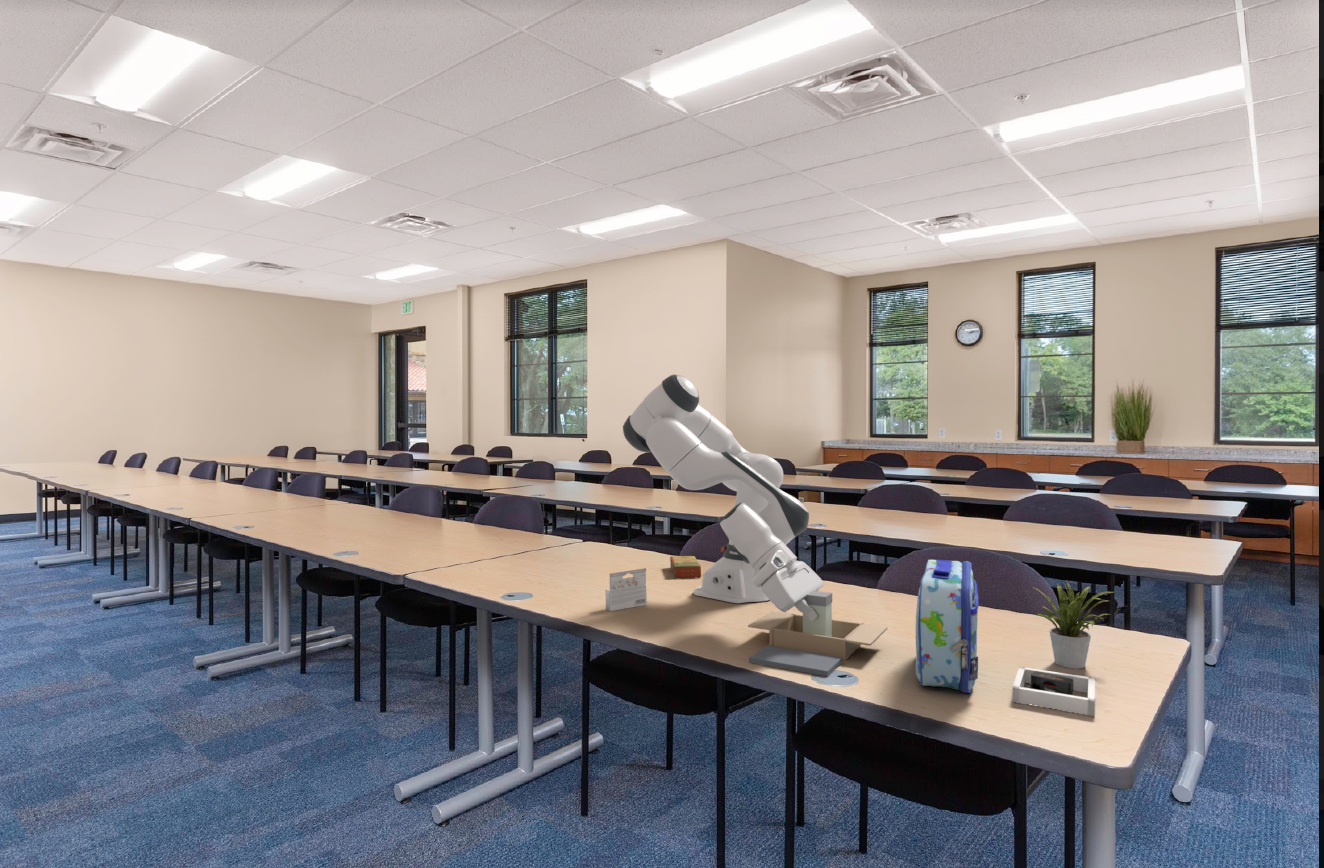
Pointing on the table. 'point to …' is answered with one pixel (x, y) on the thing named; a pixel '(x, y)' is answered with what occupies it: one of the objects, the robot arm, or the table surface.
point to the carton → (685, 567)
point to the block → (824, 608)
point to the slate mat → (796, 660)
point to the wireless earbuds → (1051, 683)
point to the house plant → (1071, 627)
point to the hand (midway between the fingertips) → (820, 615)
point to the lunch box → (947, 626)
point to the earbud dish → (1052, 698)
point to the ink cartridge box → (626, 590)
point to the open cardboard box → (841, 644)
